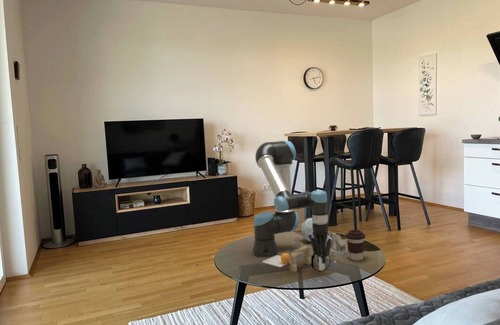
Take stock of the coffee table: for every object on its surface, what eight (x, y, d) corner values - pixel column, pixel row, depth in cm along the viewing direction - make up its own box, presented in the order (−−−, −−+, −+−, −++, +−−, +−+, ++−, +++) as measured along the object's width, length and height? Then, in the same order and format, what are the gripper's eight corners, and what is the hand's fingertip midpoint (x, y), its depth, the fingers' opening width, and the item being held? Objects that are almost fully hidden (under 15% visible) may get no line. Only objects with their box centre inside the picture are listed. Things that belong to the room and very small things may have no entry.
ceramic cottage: (338, 258, 202) (337, 230, 201) (315, 252, 215) (315, 226, 215) (356, 252, 211) (355, 226, 211) (333, 247, 224) (332, 222, 224)
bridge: (289, 270, 188) (289, 253, 187) (306, 262, 199) (305, 245, 198) (294, 272, 186) (293, 254, 185) (311, 263, 197) (310, 246, 196)
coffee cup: (366, 262, 194) (365, 234, 193) (347, 261, 196) (346, 234, 195) (364, 255, 204) (364, 228, 202) (346, 255, 206) (345, 228, 204)
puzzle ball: (325, 245, 225) (324, 221, 223) (300, 245, 227) (299, 221, 226) (324, 237, 240) (323, 215, 238) (301, 237, 242) (300, 215, 241)
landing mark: (261, 262, 203) (261, 261, 203) (277, 255, 212) (277, 255, 212) (280, 267, 194) (280, 267, 194) (295, 260, 203) (295, 259, 203)
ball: (288, 259, 194) (284, 267, 197) (294, 256, 198) (290, 263, 201) (280, 252, 197) (277, 260, 200) (286, 249, 201) (283, 257, 204)
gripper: (304, 222, 183) (306, 268, 185) (327, 226, 174) (329, 274, 176) (313, 219, 188) (315, 264, 190) (335, 222, 179) (337, 269, 181)
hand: (322, 269), depth 183 cm, fingers closed
